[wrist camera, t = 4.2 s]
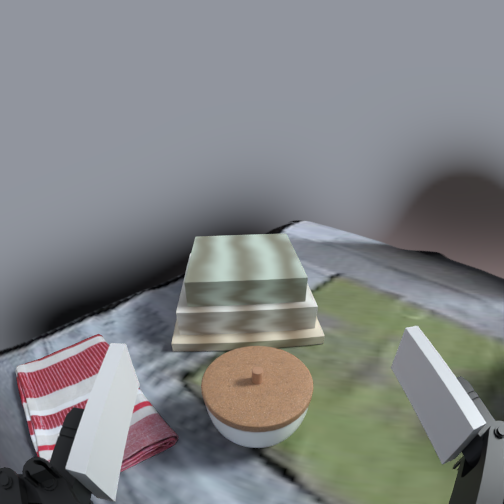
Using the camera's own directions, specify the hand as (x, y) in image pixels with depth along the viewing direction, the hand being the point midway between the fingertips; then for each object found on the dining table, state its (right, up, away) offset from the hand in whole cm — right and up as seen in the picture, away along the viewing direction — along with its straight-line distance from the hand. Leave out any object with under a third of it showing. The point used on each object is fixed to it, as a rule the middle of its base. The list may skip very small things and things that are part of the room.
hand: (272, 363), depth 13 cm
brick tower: (-2, -4, +40) cm, 40 cm away
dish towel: (-23, -15, +17) cm, 32 cm away
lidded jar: (0, -14, +17) cm, 23 cm away
